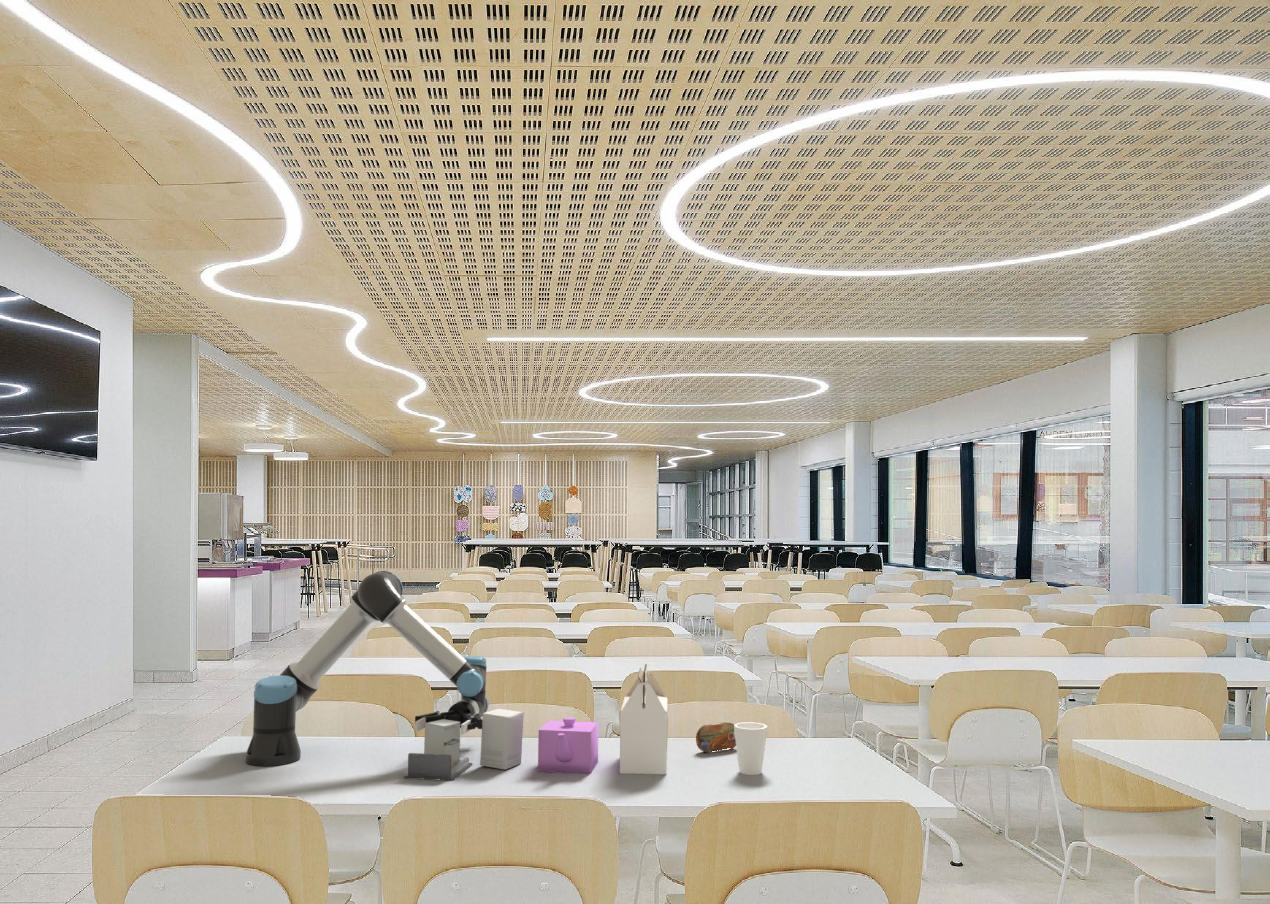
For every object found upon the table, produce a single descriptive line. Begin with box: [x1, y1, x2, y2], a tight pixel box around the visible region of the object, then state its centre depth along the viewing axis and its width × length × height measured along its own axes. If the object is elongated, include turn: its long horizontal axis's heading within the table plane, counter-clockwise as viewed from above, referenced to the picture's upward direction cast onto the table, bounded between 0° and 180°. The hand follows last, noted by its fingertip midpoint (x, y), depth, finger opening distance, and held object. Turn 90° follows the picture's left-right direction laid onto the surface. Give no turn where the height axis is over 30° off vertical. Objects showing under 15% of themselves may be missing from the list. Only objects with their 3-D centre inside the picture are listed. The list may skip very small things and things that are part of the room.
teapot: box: [537, 716, 599, 775], centre depth 281 cm, size 15×25×14 cm, turn 173°
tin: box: [695, 722, 736, 754], centre depth 304 cm, size 15×3×8 cm, turn 120°
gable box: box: [619, 663, 669, 776], centre depth 287 cm, size 22×13×28 cm, turn 178°
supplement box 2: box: [479, 708, 525, 771], centre depth 283 cm, size 9×9×15 cm
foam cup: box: [734, 721, 768, 776], centre depth 279 cm, size 10×9×13 cm
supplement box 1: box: [423, 719, 461, 766], centre depth 279 cm, size 7×7×13 cm
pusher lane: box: [403, 752, 473, 781], centre depth 276 cm, size 14×17×7 cm
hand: (439, 728), depth 275 cm, fingers open, 13 cm apart
